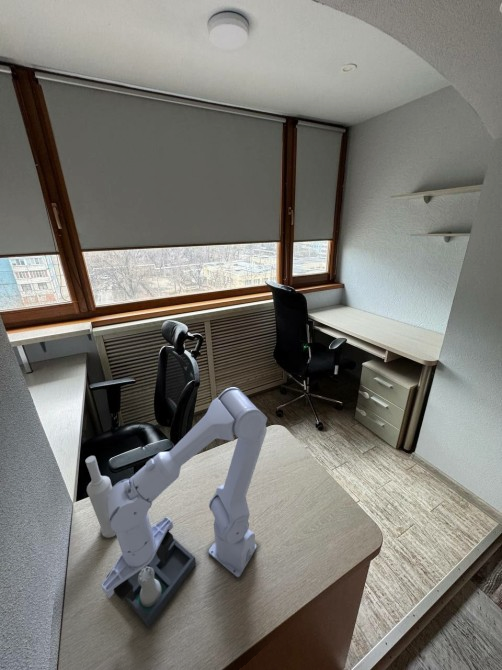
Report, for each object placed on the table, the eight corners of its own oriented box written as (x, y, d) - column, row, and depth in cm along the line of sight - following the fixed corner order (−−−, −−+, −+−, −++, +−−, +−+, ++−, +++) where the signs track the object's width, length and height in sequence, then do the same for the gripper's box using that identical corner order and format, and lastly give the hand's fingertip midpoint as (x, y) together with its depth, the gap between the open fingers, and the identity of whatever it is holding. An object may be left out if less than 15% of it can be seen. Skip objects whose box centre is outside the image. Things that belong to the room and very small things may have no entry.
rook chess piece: (165, 583, 60) (160, 562, 57) (156, 609, 56) (151, 588, 53) (146, 581, 61) (140, 559, 58) (136, 606, 57) (129, 585, 54)
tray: (196, 563, 65) (195, 557, 64) (148, 628, 54) (146, 621, 53) (159, 531, 71) (158, 524, 70) (111, 582, 61) (109, 576, 60)
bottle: (114, 540, 69) (91, 470, 60) (97, 536, 70) (72, 466, 61) (126, 520, 74) (107, 452, 65) (110, 517, 75) (89, 449, 66)
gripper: (154, 495, 59) (162, 534, 64) (85, 559, 47) (103, 600, 53) (176, 512, 55) (183, 553, 60) (107, 586, 44) (124, 628, 49)
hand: (147, 577), depth 56 cm, fingers open, 7 cm apart
